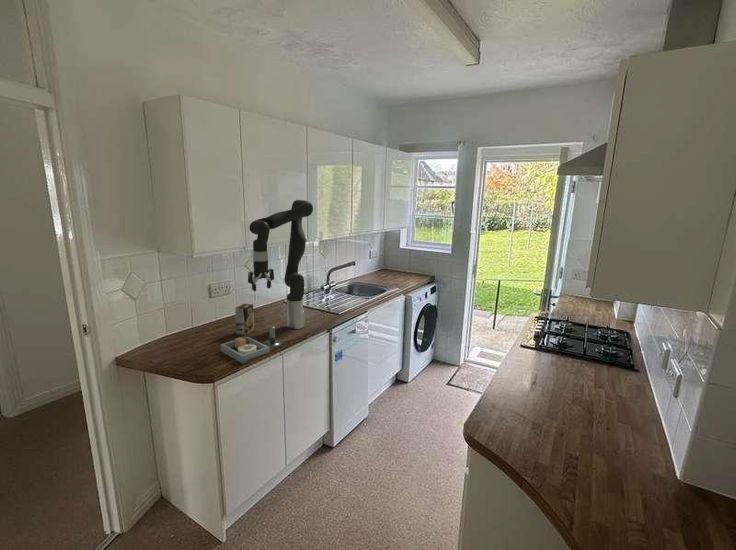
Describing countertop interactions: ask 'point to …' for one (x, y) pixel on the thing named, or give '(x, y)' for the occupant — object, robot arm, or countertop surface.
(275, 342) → the stake
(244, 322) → the coffee box
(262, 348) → the tray
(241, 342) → the ring
